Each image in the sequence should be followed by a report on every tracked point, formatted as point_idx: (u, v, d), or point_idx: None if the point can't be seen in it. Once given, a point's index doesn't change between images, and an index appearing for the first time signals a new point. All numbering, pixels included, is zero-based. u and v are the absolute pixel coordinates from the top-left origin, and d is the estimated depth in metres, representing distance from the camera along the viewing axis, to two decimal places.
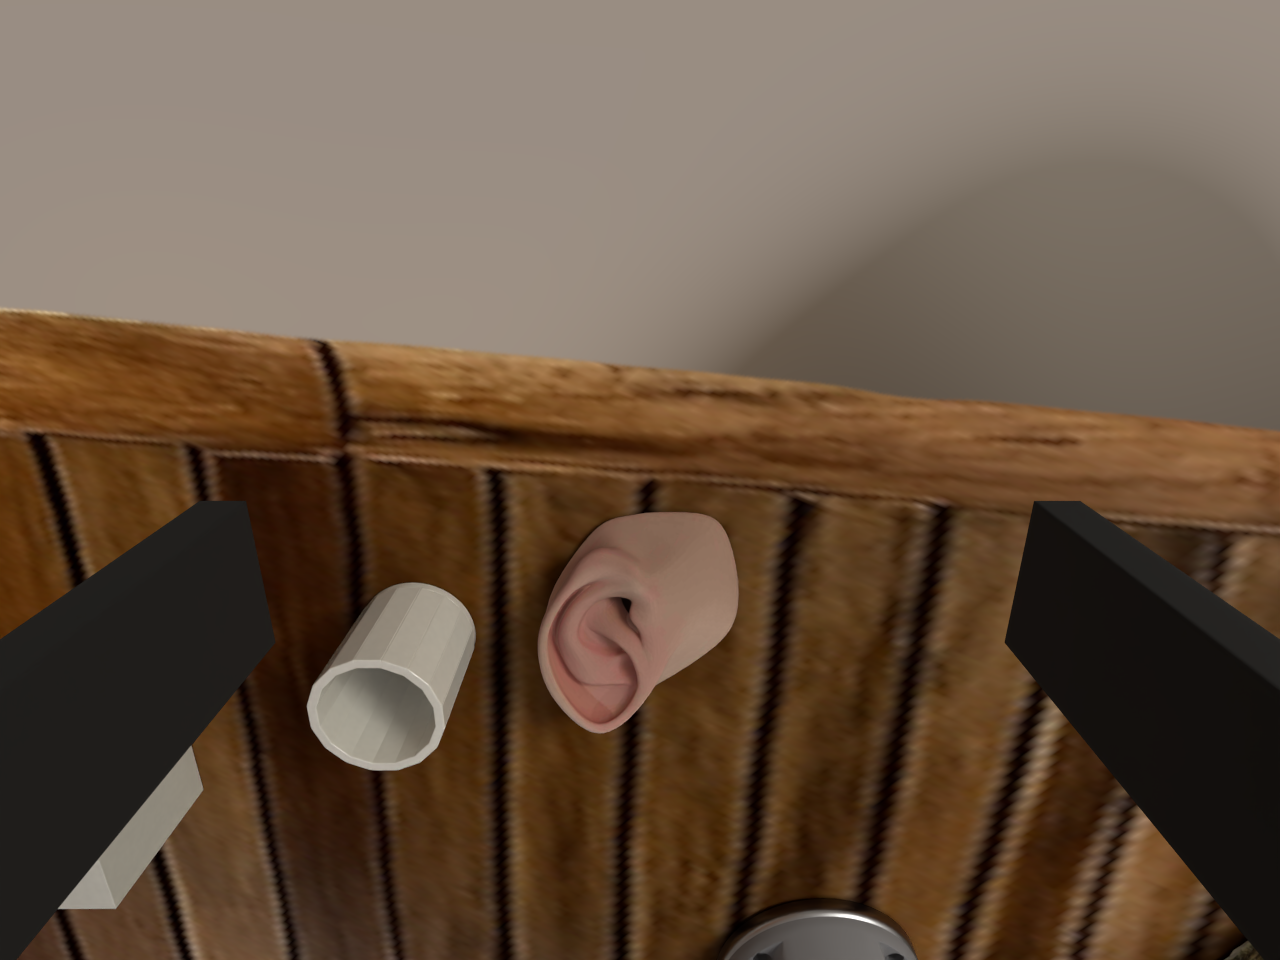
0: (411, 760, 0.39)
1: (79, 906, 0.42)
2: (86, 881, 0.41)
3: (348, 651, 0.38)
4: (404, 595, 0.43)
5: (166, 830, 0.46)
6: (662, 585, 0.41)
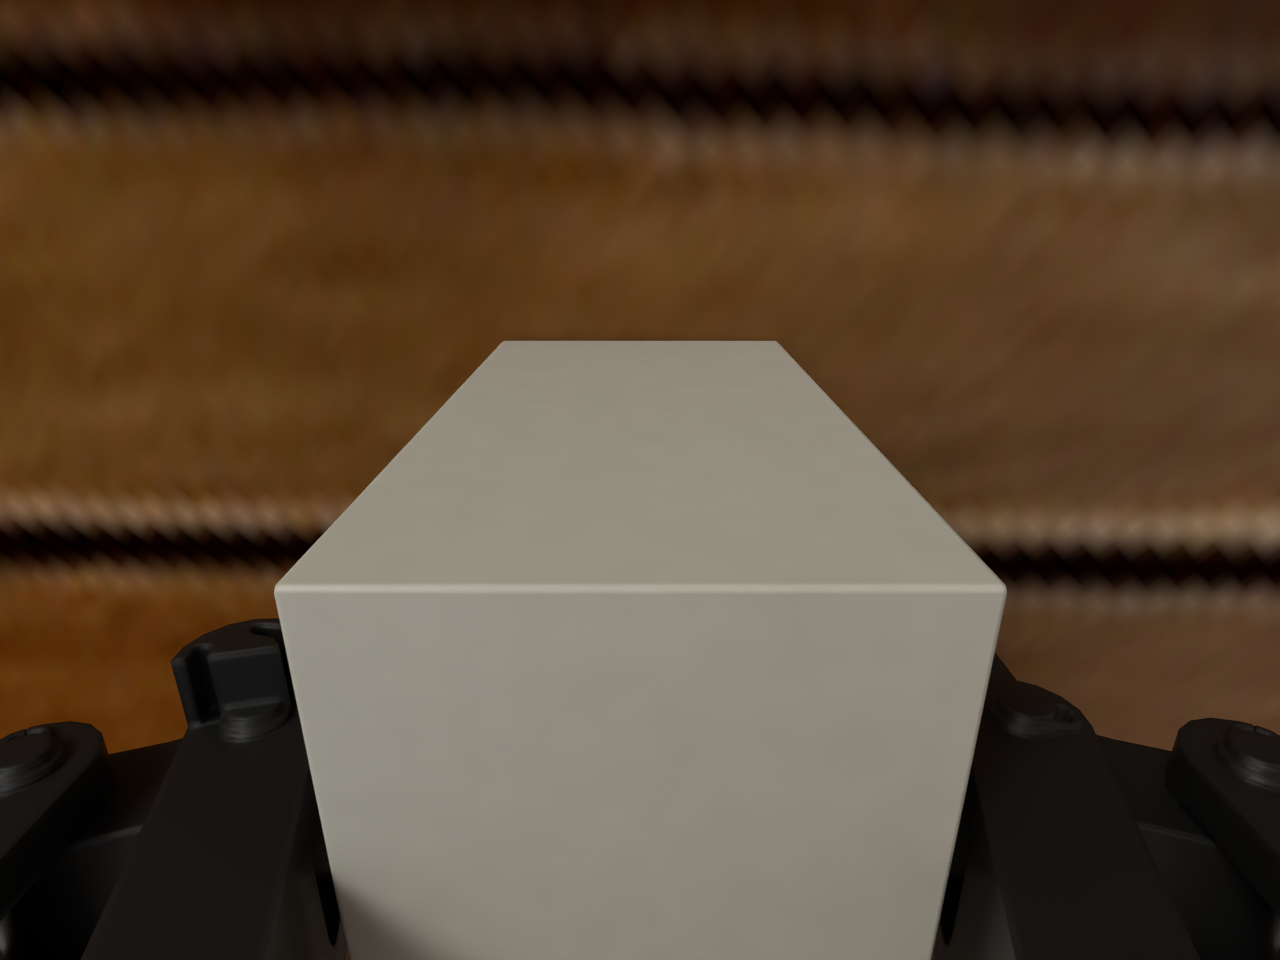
0: None
1: (937, 816, 0.06)
2: (692, 716, 0.05)
3: None
4: None
5: (786, 396, 0.10)
6: None
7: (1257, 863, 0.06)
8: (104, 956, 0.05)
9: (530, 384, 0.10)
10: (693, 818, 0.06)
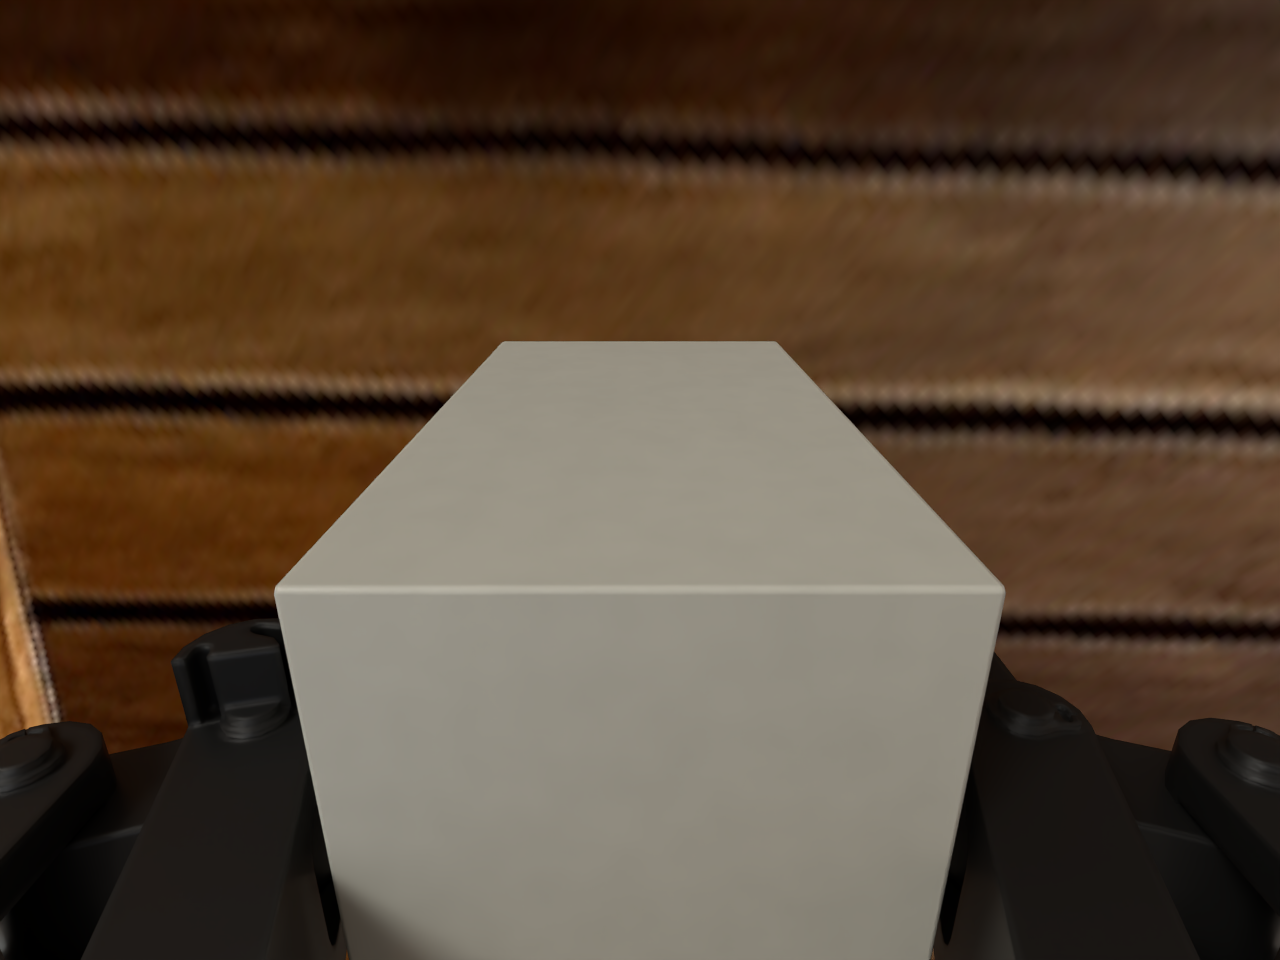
0: None
1: (936, 816, 0.06)
2: (692, 717, 0.05)
3: None
4: None
5: (785, 397, 0.10)
6: None
7: (1257, 863, 0.06)
8: (105, 956, 0.05)
9: (530, 385, 0.10)
10: (691, 818, 0.06)
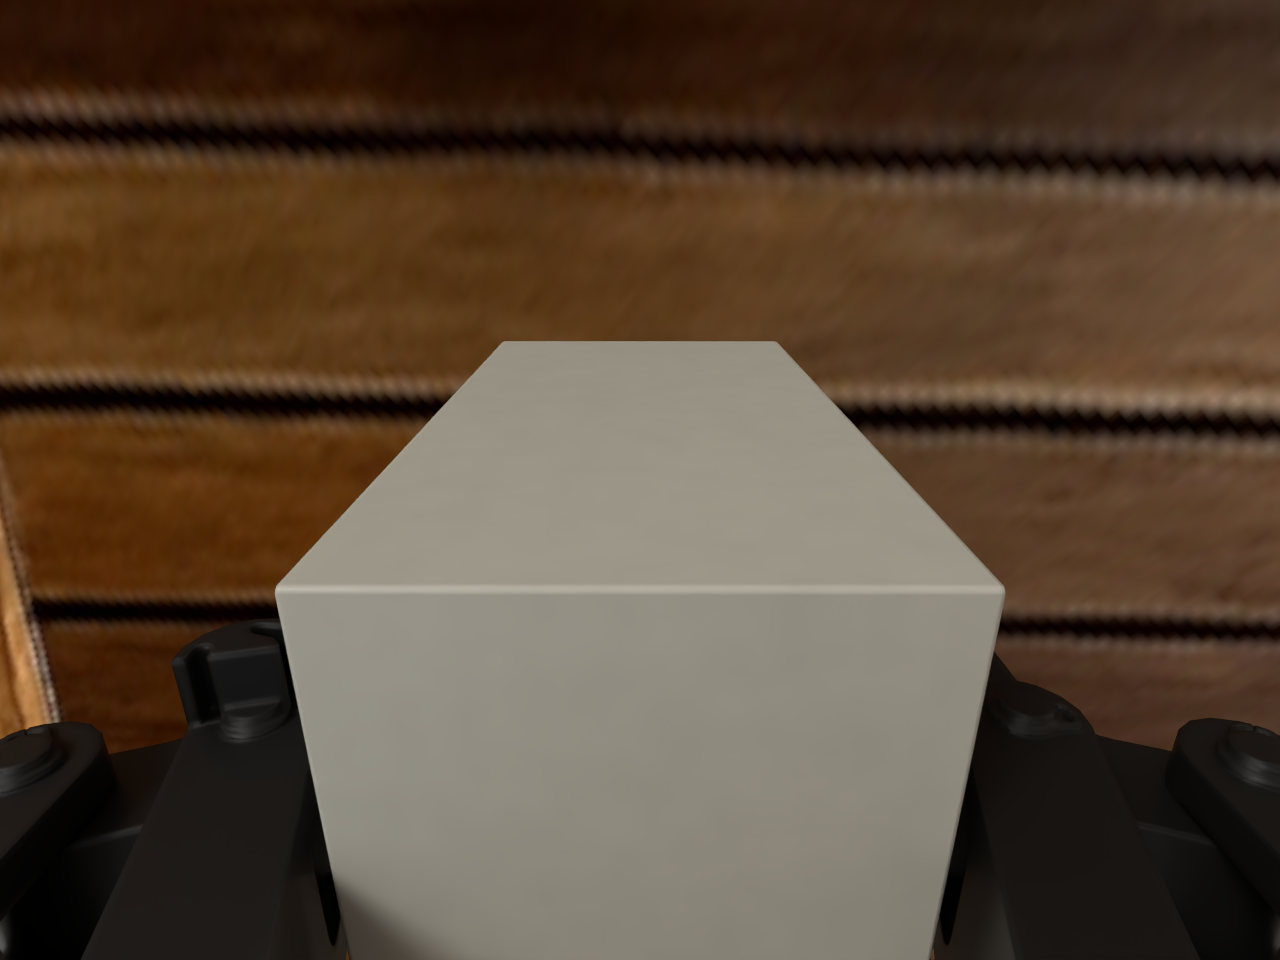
0: None
1: (936, 816, 0.06)
2: (692, 717, 0.05)
3: None
4: None
5: (786, 397, 0.10)
6: None
7: (1257, 863, 0.06)
8: (105, 956, 0.05)
9: (530, 385, 0.10)
10: (691, 818, 0.06)
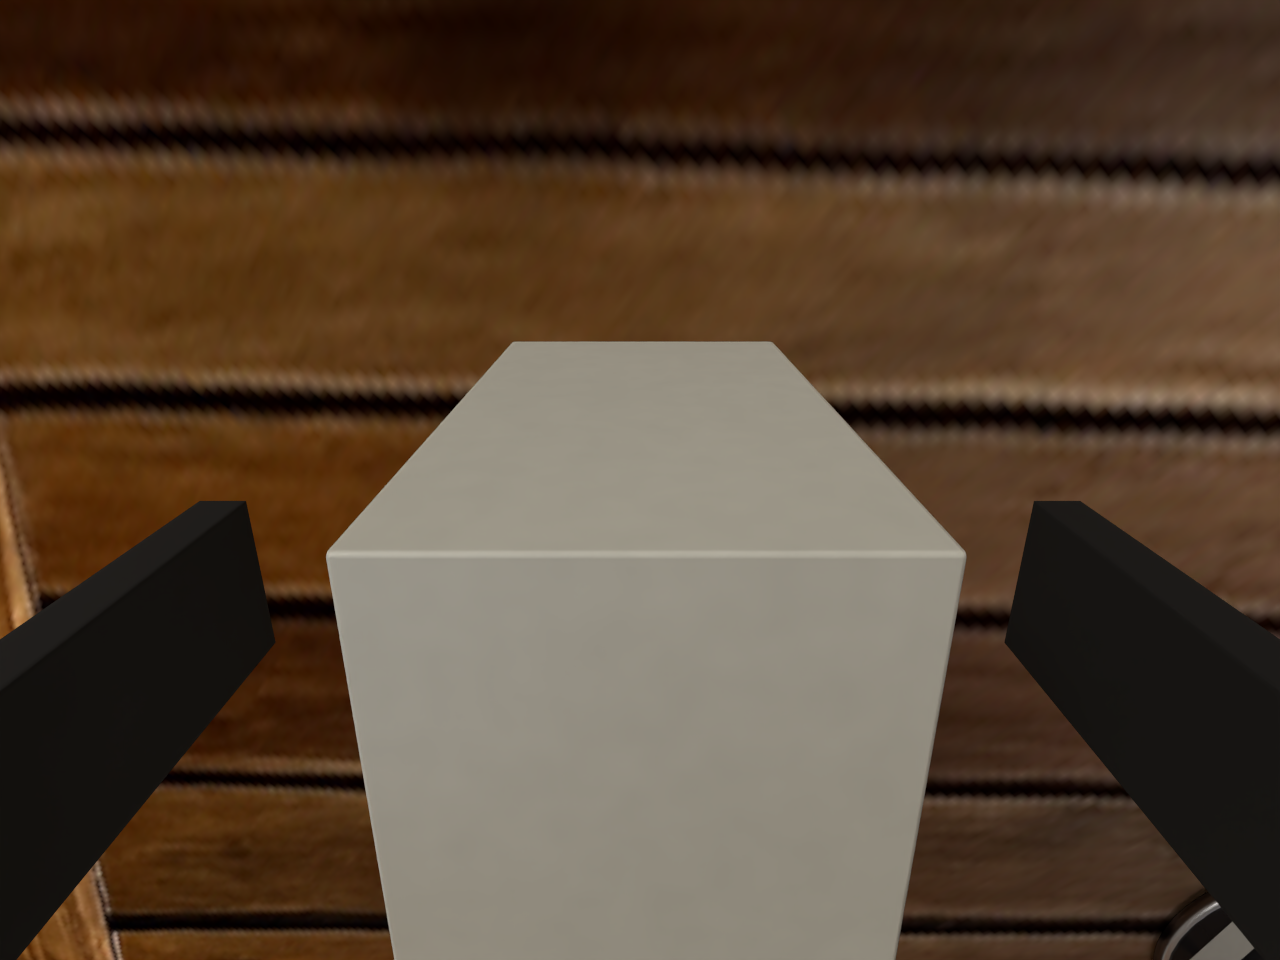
0: None
1: (909, 760, 0.06)
2: (692, 669, 0.06)
3: None
4: None
5: (779, 392, 0.10)
6: None
7: None
8: None
9: (541, 381, 0.11)
10: (691, 763, 0.06)
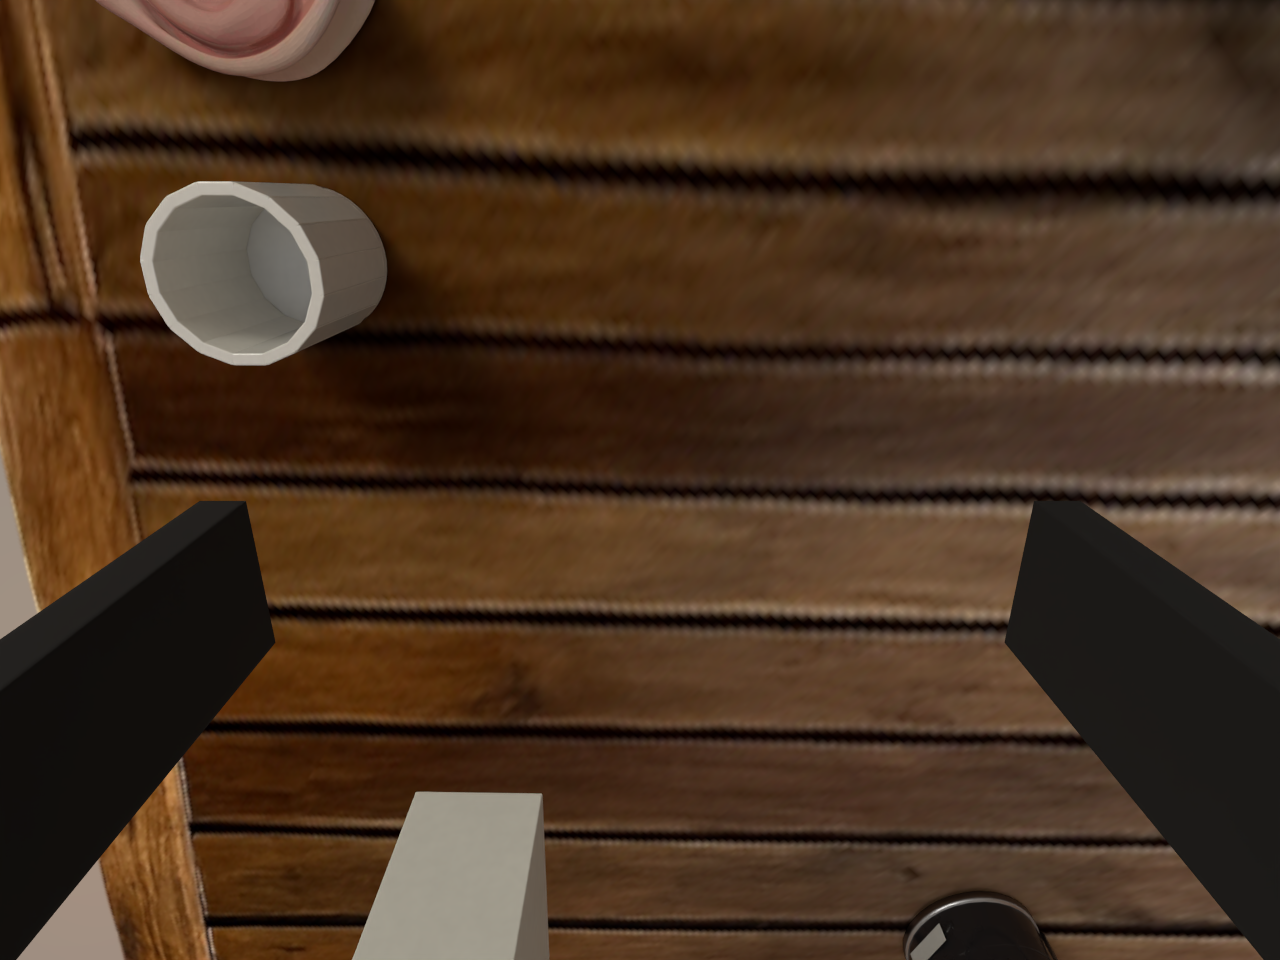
0: (297, 237, 0.28)
1: None
2: None
3: None
4: None
5: (510, 881, 0.25)
6: None
7: None
8: None
9: (416, 863, 0.26)
10: None
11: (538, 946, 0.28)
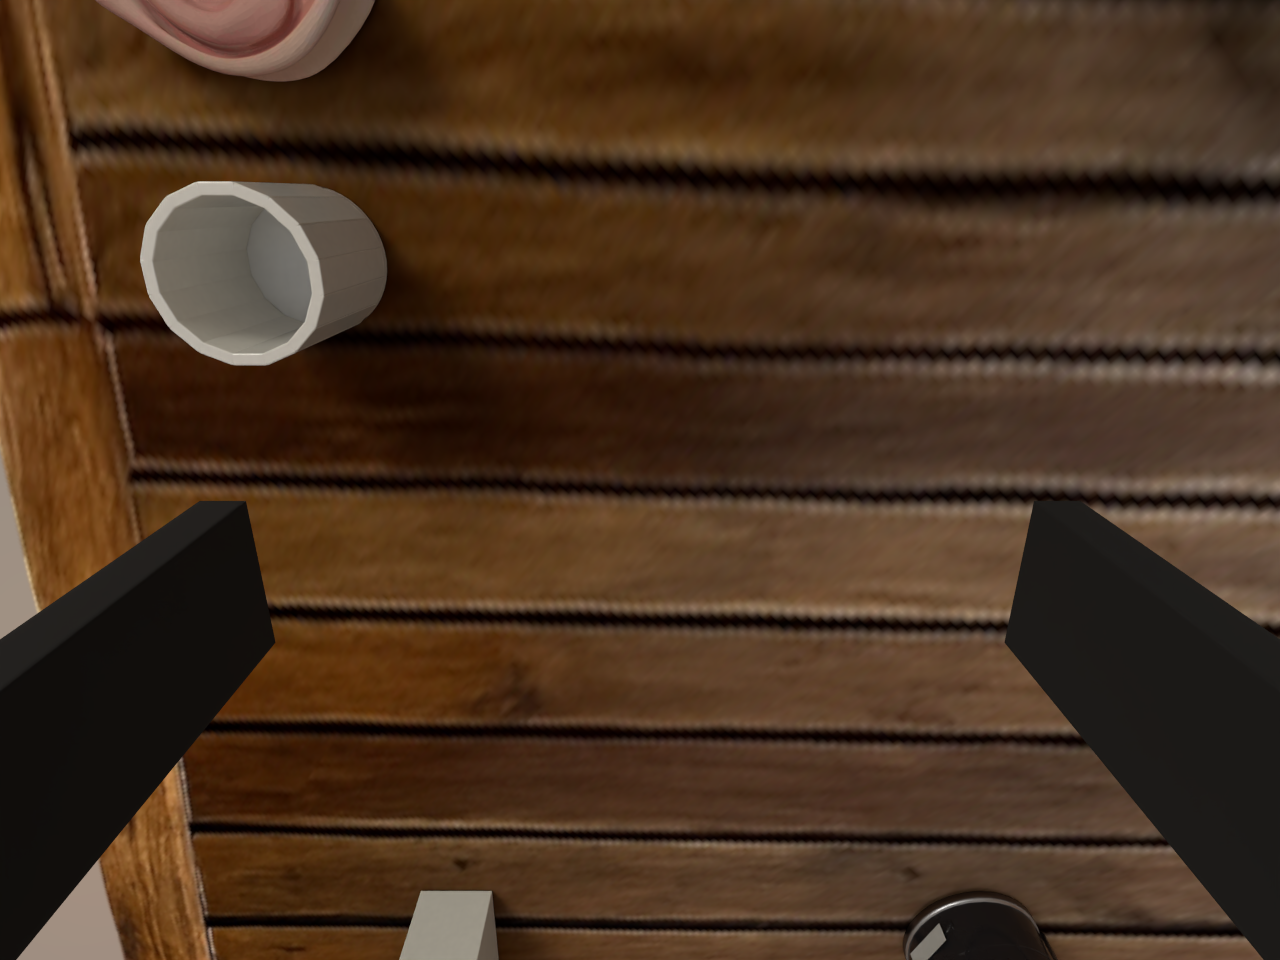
0: (297, 237, 0.28)
1: None
2: None
3: None
4: None
5: (471, 944, 0.48)
6: None
7: None
8: None
9: (421, 935, 0.48)
10: None
11: None
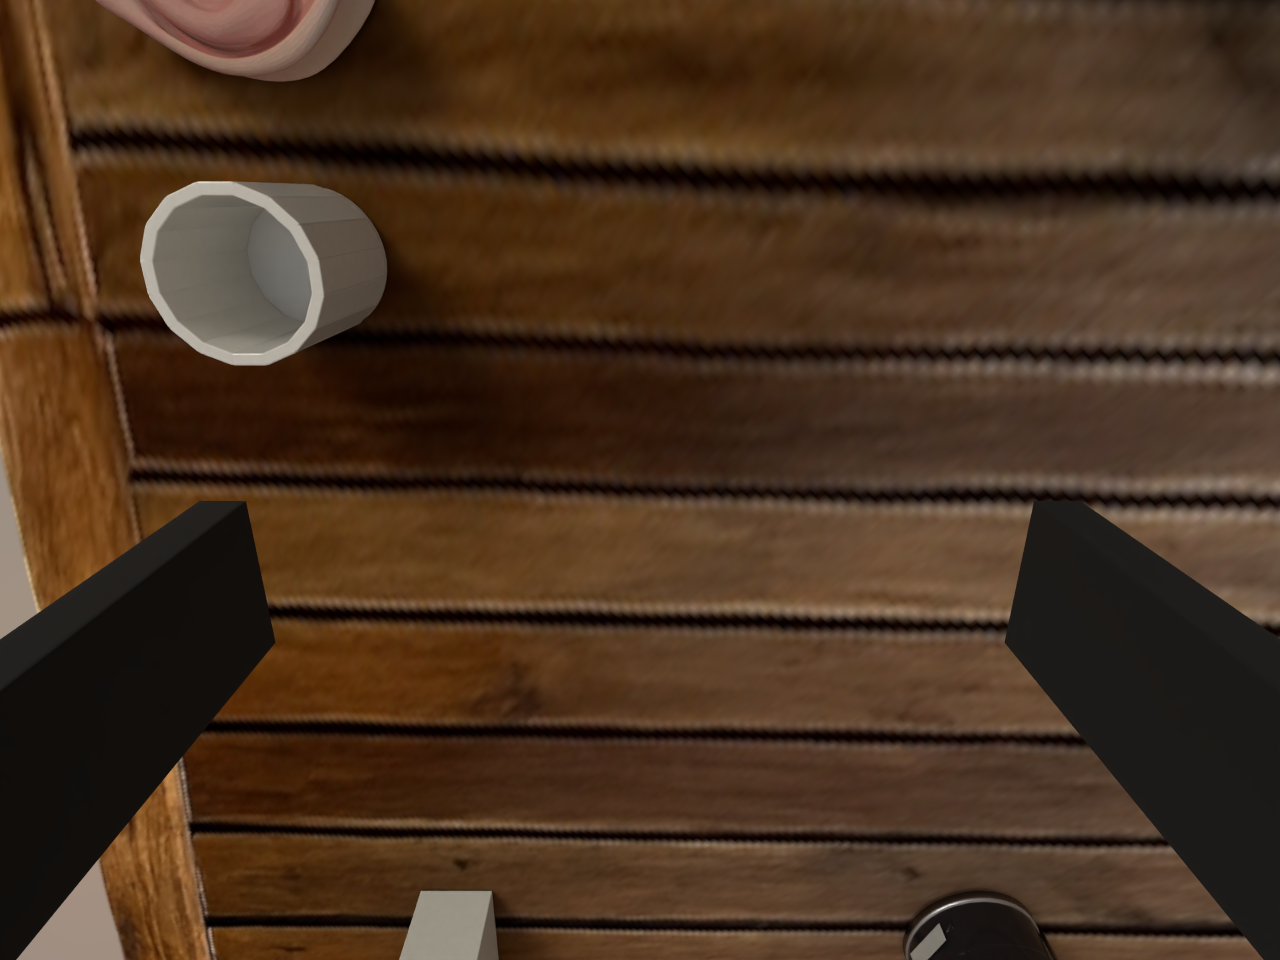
0: (297, 237, 0.28)
1: None
2: None
3: None
4: None
5: (471, 944, 0.48)
6: None
7: None
8: None
9: (421, 935, 0.48)
10: None
11: None
